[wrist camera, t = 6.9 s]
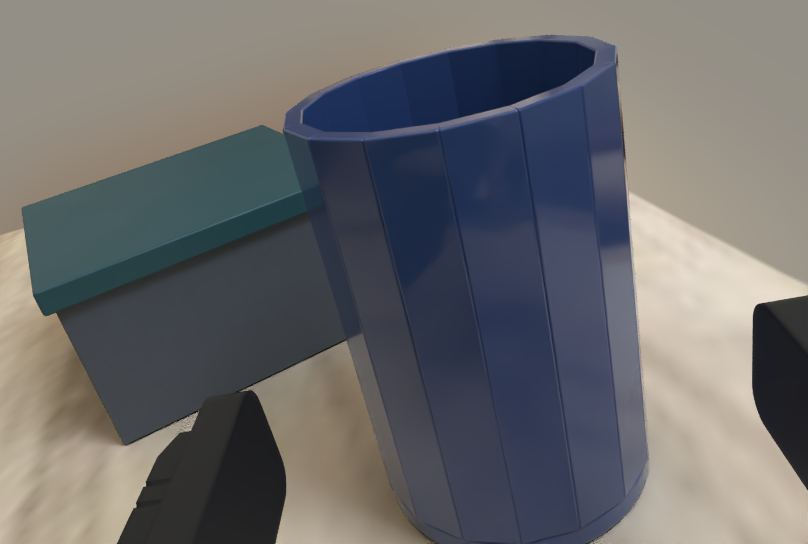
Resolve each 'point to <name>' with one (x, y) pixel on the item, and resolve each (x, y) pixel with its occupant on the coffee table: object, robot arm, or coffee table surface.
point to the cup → (486, 282)
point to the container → (184, 277)
